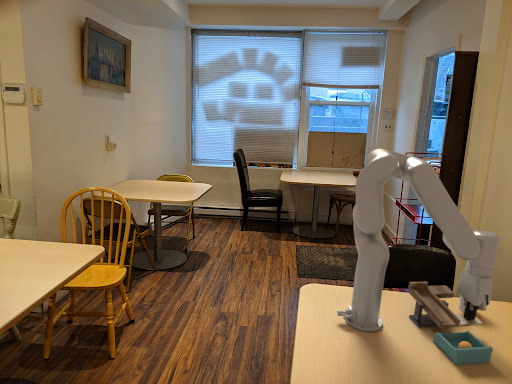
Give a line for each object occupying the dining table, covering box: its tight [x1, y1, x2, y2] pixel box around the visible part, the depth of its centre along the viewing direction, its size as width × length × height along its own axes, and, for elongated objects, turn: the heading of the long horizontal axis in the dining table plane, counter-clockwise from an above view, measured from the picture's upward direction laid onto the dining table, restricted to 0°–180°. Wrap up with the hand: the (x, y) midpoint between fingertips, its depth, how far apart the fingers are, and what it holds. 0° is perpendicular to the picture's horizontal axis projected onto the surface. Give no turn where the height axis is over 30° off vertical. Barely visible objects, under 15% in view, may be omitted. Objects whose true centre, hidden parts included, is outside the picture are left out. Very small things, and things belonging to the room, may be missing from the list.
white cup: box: [458, 294, 466, 313], centre depth 141 cm, size 7×7×7 cm
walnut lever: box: [407, 281, 483, 329], centre depth 131 cm, size 16×20×4 cm
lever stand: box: [408, 299, 449, 328], centre depth 132 cm, size 12×6×8 cm, turn 99°
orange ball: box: [458, 341, 473, 349], centre depth 115 cm, size 4×4×4 cm
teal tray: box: [432, 330, 493, 366], centre depth 116 cm, size 12×11×5 cm
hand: (469, 318), depth 125 cm, fingers closed
